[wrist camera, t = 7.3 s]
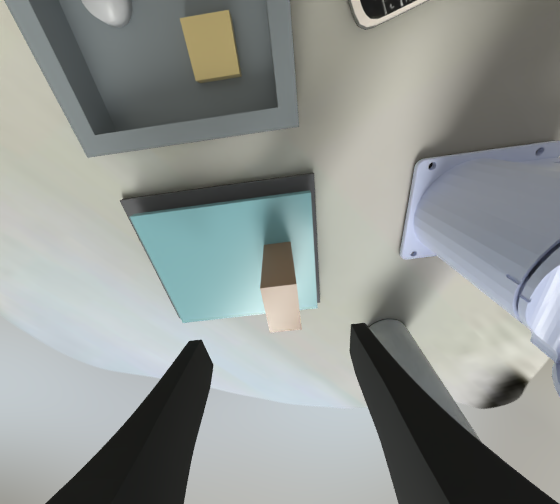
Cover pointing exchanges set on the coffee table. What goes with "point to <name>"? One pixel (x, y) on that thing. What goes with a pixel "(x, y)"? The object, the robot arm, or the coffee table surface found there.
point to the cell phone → (379, 10)
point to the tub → (164, 68)
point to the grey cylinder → (417, 365)
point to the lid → (236, 258)
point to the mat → (224, 195)
